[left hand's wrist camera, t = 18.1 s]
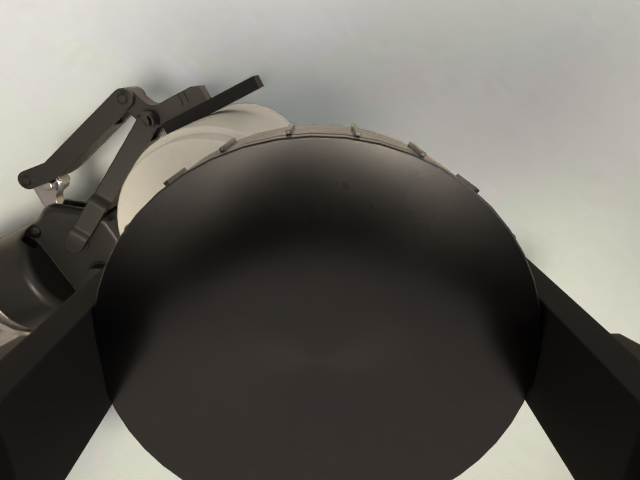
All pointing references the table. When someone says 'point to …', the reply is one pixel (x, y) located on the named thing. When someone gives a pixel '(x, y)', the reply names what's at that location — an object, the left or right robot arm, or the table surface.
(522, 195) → the table surface
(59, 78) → the table surface
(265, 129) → the jar
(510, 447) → the table surface
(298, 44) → the table surface
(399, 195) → the lid
